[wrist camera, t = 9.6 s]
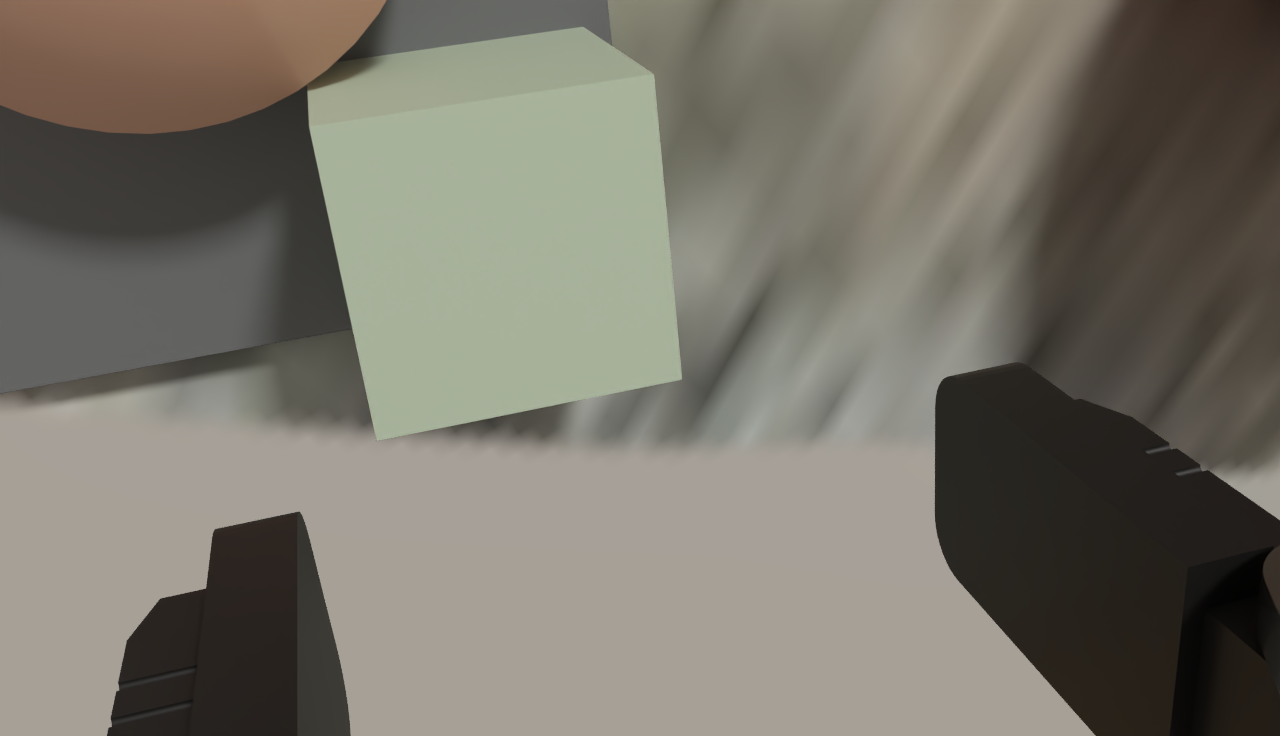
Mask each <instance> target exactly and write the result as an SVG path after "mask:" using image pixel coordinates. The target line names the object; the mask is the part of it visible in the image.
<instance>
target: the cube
mask: <svg viewBox="0 0 1280 736" xmlns="http://www.w3.org/2000/svg"><path fill="white" fill-rule="evenodd" d="M307 91H308V115H309V129H310V134H311V138H312V143H313V148H314V152H315V157H316V162H317V166H318V171H319V176H320V180H321V185H322V189H323V194H324V199H325V203H326V208H327V213H328V217H329V222H330V227H331V231H332V236H333V241H334V245H335V250H336V255H337V259H338V264H339V269H340V273H341V278H342V283H343V287H344V292H345V296H346V301H347V306H348V310H349V315H350V320H351V324H352V329H353V334H354V338H355V343H356V348H357V352H358V357H359V362H360V366H361V371H362V376H363V380H364V385H365V390H366V394H367V399H368V404H369V408H370V413H371V417H372V422H373V427H374V431H375V436H376V441H380V440H385V439H390V438H395V437H400V436H404V435H409V434H414V433H419V432H424V431H429V430H434V429H439V428H444V427H449V426H454V425H459V424H464V423H469V422H474V421H479V420H484V419H489V418H494V417H499V416H503V415H508V414H513V413H518V412H523V411H528V410H533V409H538V408H543V407H548V406H553V405H558V404H563V403H568V402H573V401H578V400H583V399H588V398H593V397H598V396H602V395H607V394H612V393H617V392H622V391H627V390H632V389H637V388H642V387H647V386H652V385H657V384H662V383H667V382H672V381H677V380H682V373H681V362H680V351H679V340H678V329H677V319H676V308H675V297H674V286H673V275H672V265H671V254H670V243H669V232H668V221H667V211H666V200H665V189H664V178H663V167H662V157H661V146H660V135H659V124H658V113H657V103H656V92H655V81H654V74H653V73H651V72H650V71H648V70H647V69H646V68H644V67H643V66H641V65H640V64H638V63H637V62H635V61H634V60H632V59H631V58H629V57H628V56H626V55H625V54H623V53H622V52H620V51H619V50H617V49H616V48H614V47H613V46H611V45H610V44H608V43H607V42H605V41H604V40H602V39H601V38H599V37H598V36H596V35H595V34H593V33H592V32H590V31H589V30H587V29H586V28H584V27H577V28H570V29H563V30H556V31H549V32H542V33H535V34H528V35H521V36H514V37H507V38H500V39H493V40H487V41H480V42H473V43H466V44H459V45H452V46H445V47H438V48H431V49H424V50H417V51H410V52H403V53H396V54H389V55H382V56H375V57H368V58H361V59H354V60H347V61H340V62H335V63H334V64H333V65H332V66H331V67H330V68H329V69H328V70H326V71H325V72H323V73H322V74H321V75H319V76H318V77H316V78H315V79H314V80H312V81H311V82H309V83H308V84H307Z"/></svg>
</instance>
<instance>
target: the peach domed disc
mask: <svg viewBox="0 0 1280 736" xmlns="http://www.w3.org/2000/svg"><path fill="white" fill-rule="evenodd" d="M385 2H386V0H0V105H2V106H4V107H7V108H9V109H12V110H14V111H17V112H19V113H22V114H24V115H27V116H31V117H35V118H38V119H42V120H46V121H50V122H53V123H57V124H61V125H64V126H69V127H75V128H82V129H88V130H95V131H102V132H108V133H137V134H154V133H165V132H176V131H187V130H193V129H198V128H202V127H207V126H211V125H216V124H220V123H225V122H229V121H231V120H234V119H237V118H240V117H242V116H245V115H248V114H251V113H253V112H256V111H259V110H262V109H264V108H266V107H268V106H270V105H272V104H274V103H276V102H278V101H279V100H281V99H283V98H285V97H287V96H289V95H291V94H293V93H295V92H297V91H298V90H300V89H301V88H302V87H304V86H305V85H307V84H308V83H309V82H311V81H312V80H314V79H315V78H316V77H318V76H319V75H321V74H322V73H323V72H325V71H326V70H328V69H329V68H330V67H331V66H332V65H333V64H334V63H335V62H336V61H337V60H338V59H339V58H340V57H341V56H342V55H343V54H344V53H345V52H347V51H348V50H349V49H350V48H351V47H352V46H353V45H354V44H355V43H356V42H357V40H358V39H359V38H360V37H361V35H362V34H363V33H364V32H365V30H366V29H367V28H368V27H369V25H370V24H371V23H372V22H373V20H374V19H375V18H376V17H377V15H378V14H379V12H380V11H381V9H382V7H383V6H384V4H385Z"/></svg>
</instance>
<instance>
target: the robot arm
mask: <svg viewBox="0 0 1280 736" xmlns="http://www.w3.org/2000/svg"><path fill="white" fill-rule="evenodd" d="M935 522H936V529H937V535H938V539H939V543H940V546H941V549H942V552H943V555H944V557H945V559H946V562H947V564H948V566H949V568H950V570H951V571H952V573H953V574H954V576H955V577H956V578H957V580H958V581H959V582H960V583H961V584H962V585H963V586H964V588H965V589H966V590H967V591H968V592H969V593H970V594H971V595H972V597H973V598H974V599H975V600H976V601H977V602H978V603H979V604H980V606H981V607H982V608H983V609H984V610H985V611H986V612H987V614H988V615H989V616H990V617H991V618H992V619H993V620H994V621H995V623H996V624H997V625H998V626H999V627H1000V628H1001V629H1002V630H1003V632H1004V633H1005V634H1006V635H1007V636H1008V637H1009V638H1010V639H1011V641H1012V642H1013V643H1014V644H1015V645H1016V646H1017V647H1018V648H1019V649H1020V651H1021V652H1022V653H1023V654H1024V655H1025V656H1026V657H1027V659H1028V660H1029V661H1030V662H1031V663H1032V664H1033V665H1034V666H1035V668H1036V669H1037V670H1038V671H1039V672H1040V673H1041V674H1042V675H1043V677H1044V678H1045V679H1046V680H1047V681H1048V682H1049V683H1050V685H1051V686H1052V687H1053V688H1054V689H1055V690H1056V691H1057V692H1058V694H1059V695H1060V696H1061V697H1062V698H1063V699H1064V700H1065V701H1066V703H1068V705H1069V706H1070V707H1071V708H1072V709H1073V710H1074V712H1075V713H1076V714H1077V715H1078V716H1079V717H1080V718H1081V720H1082V721H1083V722H1084V723H1085V724H1086V725H1087V726H1088V727H1089V729H1090V730H1091V731H1092V732H1093V733H1094V734H1095V735H1096V736H1280V520H1278V519H1277V518H1276V517H1274V516H1273V515H1271V514H1270V513H1268V512H1267V511H1266V510H1264V509H1263V508H1261V507H1260V506H1258V505H1257V504H1255V503H1254V502H1253V501H1251V500H1250V499H1248V498H1247V497H1245V496H1244V495H1243V494H1241V493H1240V492H1238V491H1237V490H1235V489H1234V488H1233V487H1231V486H1230V485H1228V484H1227V483H1225V482H1224V481H1223V480H1221V479H1220V478H1218V477H1217V476H1215V475H1214V474H1213V473H1211V472H1210V471H1208V470H1207V471H1203V472H1202V471H1201V468H1200V464H1198V463H1197V462H1195V461H1194V460H1192V459H1191V458H1190V457H1188V456H1187V455H1185V454H1184V453H1182V452H1181V451H1180V450H1178V449H1177V448H1176V449H1172V450H1171V449H1170V446H1169V443H1168V442H1167V441H1165V440H1164V439H1162V438H1161V437H1160V436H1158V435H1157V434H1155V433H1154V432H1152V431H1151V430H1149V429H1148V428H1147V427H1145V426H1144V425H1142V424H1141V423H1139V422H1138V421H1137V420H1135V419H1134V418H1132V417H1130V416H1127V415H1124V414H1121V413H1119V412H1116V411H1113V410H1110V409H1107V408H1105V407H1102V406H1099V405H1096V404H1093V403H1091V402H1088V401H1085V400H1082V399H1078V400H1074V399H1072V398H1071V397H1070V396H1068V395H1067V394H1065V393H1064V392H1063V391H1061V390H1060V389H1059V388H1057V387H1056V386H1054V385H1053V384H1052V383H1050V382H1049V381H1048V380H1046V379H1045V378H1043V377H1042V376H1041V375H1039V374H1038V373H1037V372H1035V371H1034V370H1032V369H1031V368H1030V367H1028V366H1027V365H1025V364H1023V363H1019V362H1017V363H1010V364H1006V365H1001V366H996V367H991V368H987V369H982V370H977V371H972V372H968V373H963V374H958V375H953V376H949V377H946V378H944V379H943V380H942V381H941V383H940V385H939V387H938V390H937V395H936V405H935ZM118 684H119V691H117V692H116V696H115V700H114V705H113V710H112V715H111V721H112V727H110V728H109V729H108V734H107V736H350V721H349V712H348V704H347V697H346V691H345V685H344V680H343V674H342V669H341V664H340V660H339V655H338V651H337V647H336V643H335V639H334V635H333V631H332V627H331V623H330V619H329V615H328V611H327V607H326V603H325V599H324V596H323V592H322V588H321V583H320V579H319V575H318V572H317V567H316V563H315V559H314V555H313V551H312V548H311V544H310V539H309V536H308V532H307V529H306V525H305V522H304V519H303V517H302V515H301V513H300V512H295V513H290V514H285V515H281V516H276V517H271V518H266V519H262V520H257V521H252V522H247V523H243V524H238V525H233V526H229V527H224V528H219V529H215V530H214V533H213V537H212V545H211V553H210V562H209V570H208V578H207V587H206V589H203V590H199V591H194V592H189V593H185V594H180V595H176V596H171V597H166V598H162V599H160V600H159V601H158V602H157V604H156V605H155V606H154V607H153V609H152V610H151V611H150V612H149V614H148V615H147V616H146V618H145V619H144V620H143V621H142V622H141V624H140V625H139V626H138V627H137V629H136V630H135V631H134V633H133V634H132V635H131V636H130V638H129V639H128V640H127V644H126V648H125V653H124V658H123V662H122V667H121V672H120V677H119V681H118Z"/></svg>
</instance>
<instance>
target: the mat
mask: <svg viewBox="0 0 1280 736" xmlns="http://www.w3.org/2000/svg"><path fill="white" fill-rule="evenodd" d="M577 27H584V28H586V29H587V30H589V31H590V32H592V33H593V34H595V35H596V36H598V37H599V38H601V39H602V40H604V41H605V42H607V43H608V44H610V45H611V46H612V41H611V32H610V23H609V13H608V4H607V0H386V2H385V4H384V6H383V7H382V9H381V11H380V12H379V14H378V15H377V17H376V18H375V19H374V20H373V22H372V23H371V24H370V25H369V27H368V28H367V29H366V30H365V32H364V33H363V34H362V35H361V37H360V38H359V39H358V40H357V42H356V43H355V44H354V45H353V46H352V47H351V48H350V49H349V50H348V51H347V52H345V53H344V54H343V55H342V56H341V57H340V58H339V59H338V60H337V61H336V62H340V61H347V60H354V59H361V58H368V57H375V56H382V55H389V54H396V53H403V52H410V51H417V50H424V49H431V48H438V47H445V46H452V45H459V44H466V43H473V42H480V41H487V40H493V39H500V38H507V37H514V36H521V35H528V34H535V33H542V32H549V31H556V30H563V29H570V28H577ZM348 329H352V324H351V320H350V315H349V310H348V306H347V301H346V296H345V292H344V287H343V283H342V278H341V273H340V269H339V264H338V259H337V255H336V250H335V245H334V241H333V236H332V231H331V227H330V222H329V217H328V213H327V208H326V203H325V199H324V194H323V189H322V185H321V180H320V176H319V171H318V166H317V162H316V157H315V152H314V148H313V143H312V138H311V134H310V129H309V115H308V91H307V85H305V86H304V87H302V88H301V89H300V90H298V91H297V92H295V93H293V94H291V95H289V96H287V97H285V98H283V99H281V100H279V101H278V102H276V103H274V104H272V105H270V106H268V107H266V108H264V109H262V110H259V111H256V112H253V113H251V114H248V115H245V116H242V117H240V118H237V119H234V120H231V121H229V122H225V123H220V124H216V125H211V126H207V127H202V128H198V129H193V130H187V131H176V132H165V133H154V134H137V133H108V132H102V131H95V130H88V129H82V128H75V127H69V126H64V125H61V124H57V123H53V122H50V121H46V120H42V119H38V118H35V117H31V116H27V115H24V114H22V113H19V112H17V111H14V110H12V109H9V108H7V107H4V106H2V105H0V393H6V392H11V391H17V390H22V389H27V388H33V387H38V386H44V385H49V384H55V383H60V382H65V381H71V380H76V379H82V378H87V377H93V376H98V375H103V374H109V373H114V372H120V371H125V370H131V369H136V368H141V367H147V366H152V365H158V364H163V363H169V362H174V361H179V360H185V359H190V358H196V357H201V356H207V355H212V354H217V353H223V352H228V351H234V350H239V349H245V348H250V347H255V346H261V345H266V344H272V343H277V342H283V341H288V340H293V339H299V338H304V337H310V336H315V335H321V334H326V333H331V332H337V331H342V330H348Z"/></svg>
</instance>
